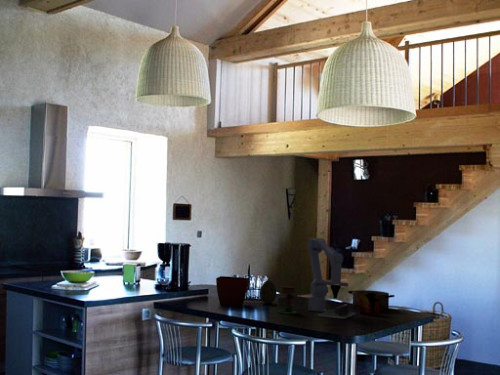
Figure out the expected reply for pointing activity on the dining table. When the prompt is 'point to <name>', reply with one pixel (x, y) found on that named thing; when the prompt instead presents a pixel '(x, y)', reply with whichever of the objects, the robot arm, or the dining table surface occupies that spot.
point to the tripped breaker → (338, 310)
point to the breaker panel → (332, 313)
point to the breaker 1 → (342, 309)
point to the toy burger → (286, 300)
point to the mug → (368, 304)
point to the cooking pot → (380, 295)
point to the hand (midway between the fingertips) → (335, 298)
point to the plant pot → (232, 290)
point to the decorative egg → (268, 292)
